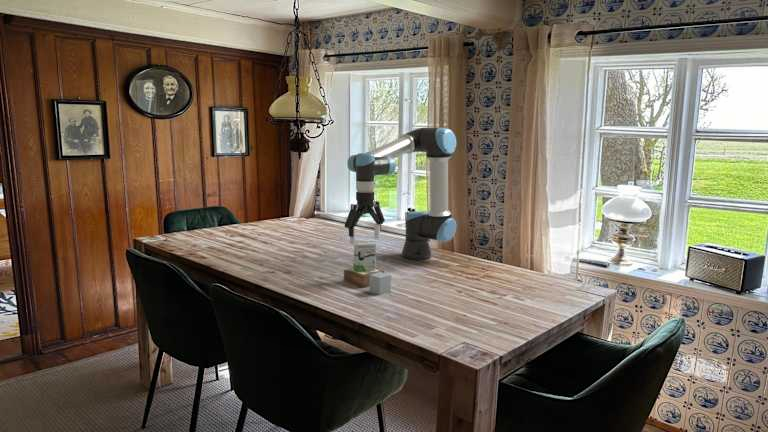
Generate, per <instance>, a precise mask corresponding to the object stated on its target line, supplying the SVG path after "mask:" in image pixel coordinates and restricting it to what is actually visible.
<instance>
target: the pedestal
mask: <svg viewBox="0 0 768 432" xmlns="http://www.w3.org/2000/svg"><path fill="white" fill-rule="evenodd" d="M378 272H382V273H385V270H382V269H379V268H376V267H375V271H360V272H356V271H355V270H354V269H353V267H352V268H347V269H344V270H343V282H345V283H348V284H351V285H353V286H355V287H359V288H362V289H365V288H369V279H370V274H374V273H378Z"/></svg>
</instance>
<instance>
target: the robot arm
mask: <svg viewBox="0 0 768 432" xmlns="http://www.w3.org/2000/svg"><path fill="white" fill-rule="evenodd" d="M456 148H457V138H456V135H455V133H454V132H453V131H452V130H451V129H449V128H446V127H420V128H415V129H414V130H411V131H408V132H406V133H404V134H401V135H400V137H399V138H398V139H396V140H393V141H391V142H390V141H389V142H387V143H385V144H382V145H380V146H378V147H377V148H374V149H371V150H369V151H367V152H359V153H357V154H351V155H350V156H349V157H348V159H347V168H348V170H349V171H350V172H353V173H355V191H356V192H355V200H356V204H354V203H351V204H350V208H349V213H348V214H347V218H346V221H345V223H344V228H347V229H348V237H349V244H350V245H353V246H354V245H356V241H357V238H356V237H357V235H356V234H357V231H356V230H357V229H356V225H357V224H358V222H359V221H360V219H361V217H362V216H363V215H366V214H369V216H370V217H371V218H372V219H373V220H374V222H375V223H374V224H373V225H374V227H373V228H374V231H373V232H374V237H373V238H374V239H375V240H377V241H379V240H381V231H382V225H383V224H384V222H385V221H386V219H385V218H384V215H383V212H382V209H381V206H380V201H378V200H375V177H377V176H385V175H386V176H387V175H391V174H393V173H394V172H395V171H396V166H397V164H396V160H395V159H396V158H398V157H401V156H402V155H405V154H407V155H410V154H412V153H425V154H426V159H427V160H428V161H429V198H430V199H429V204H430V205H429V206H430V207H429V208H430V209H429V210H428V211H427V210H419V211H411V212H410V211H409V212H408V213H406V217H405V241H404V245H403V247H402V250H401V257H402V258H403V259H406V260H413V261H414V260H416V261H423V260H425V261H426V260H430V259H431V258H432V250H431V247H430V243H429V240H431V241H432V240H434V241H437V242H445V243H447V242H449V241H451V240H452V239H453V237H454V236H455V234H456V231H457V225H458V224H457V222H456V219H454V218H453V217H452V212H451V211H450V210H449V160H450V159H451V158H452V154H453V153H454V152H455V150H456Z"/></svg>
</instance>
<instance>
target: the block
mask: <svg viewBox="0 0 768 432" xmlns="http://www.w3.org/2000/svg"><path fill="white" fill-rule="evenodd" d="M391 285H392V275H391V274H388V273H386V272H384V273H382V272H378V273H374V274H370V279H369V287H368V288H369V290H368V292H370V293H373V294H375V295H378V296H382V295H385V294H388V293H391V292H392V291H391V288H392V286H391Z"/></svg>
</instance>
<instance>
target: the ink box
mask: <svg viewBox="0 0 768 432" xmlns="http://www.w3.org/2000/svg"><path fill="white" fill-rule="evenodd" d="M376 254H377V243H376V242H375V241H373V240H368V241H367V240H366V241H365V240H364V241H360V240H359V241H357V240H356V245H353V267H352V268H353V269H354V270H355V271H356V272H360V271H375V268H376V265H377V264H376V260H377V259H376V256H377V255H376Z"/></svg>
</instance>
